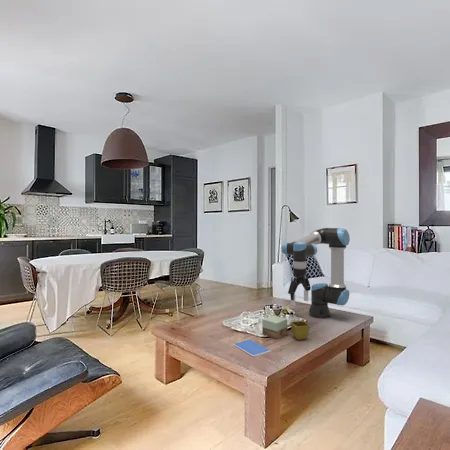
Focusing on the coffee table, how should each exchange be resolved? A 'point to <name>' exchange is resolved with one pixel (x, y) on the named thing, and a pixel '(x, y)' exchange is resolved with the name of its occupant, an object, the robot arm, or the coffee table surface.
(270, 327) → the top block
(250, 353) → the tablet computer
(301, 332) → the flower pot
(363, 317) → the coffee table surface
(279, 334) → the bottom block
